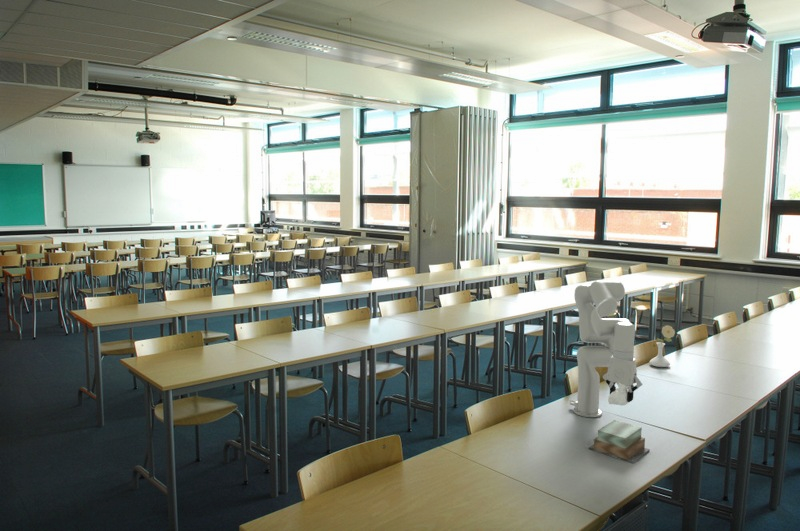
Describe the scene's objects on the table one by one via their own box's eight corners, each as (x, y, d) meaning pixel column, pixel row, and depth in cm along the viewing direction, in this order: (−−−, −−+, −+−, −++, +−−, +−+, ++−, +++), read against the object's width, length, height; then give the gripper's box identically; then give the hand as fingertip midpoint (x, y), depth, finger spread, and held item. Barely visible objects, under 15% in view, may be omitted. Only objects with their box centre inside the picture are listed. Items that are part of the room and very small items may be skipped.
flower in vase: (650, 367, 344) (652, 326, 341) (648, 362, 355) (650, 322, 352) (674, 369, 340) (676, 327, 337) (671, 364, 351) (673, 323, 348)
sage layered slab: (588, 449, 231) (589, 427, 230) (605, 438, 242) (606, 417, 241) (633, 463, 219) (634, 440, 218) (649, 451, 230) (650, 429, 229)
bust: (611, 412, 225) (628, 395, 219) (598, 396, 230) (614, 379, 223) (629, 406, 232) (646, 389, 225) (617, 391, 236) (633, 373, 230)
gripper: (597, 352, 229) (595, 396, 232) (641, 360, 217) (639, 407, 220) (606, 348, 235) (604, 391, 237) (649, 356, 223) (647, 402, 225)
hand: (621, 398), depth 228 cm, fingers closed on bust, 6 cm apart
